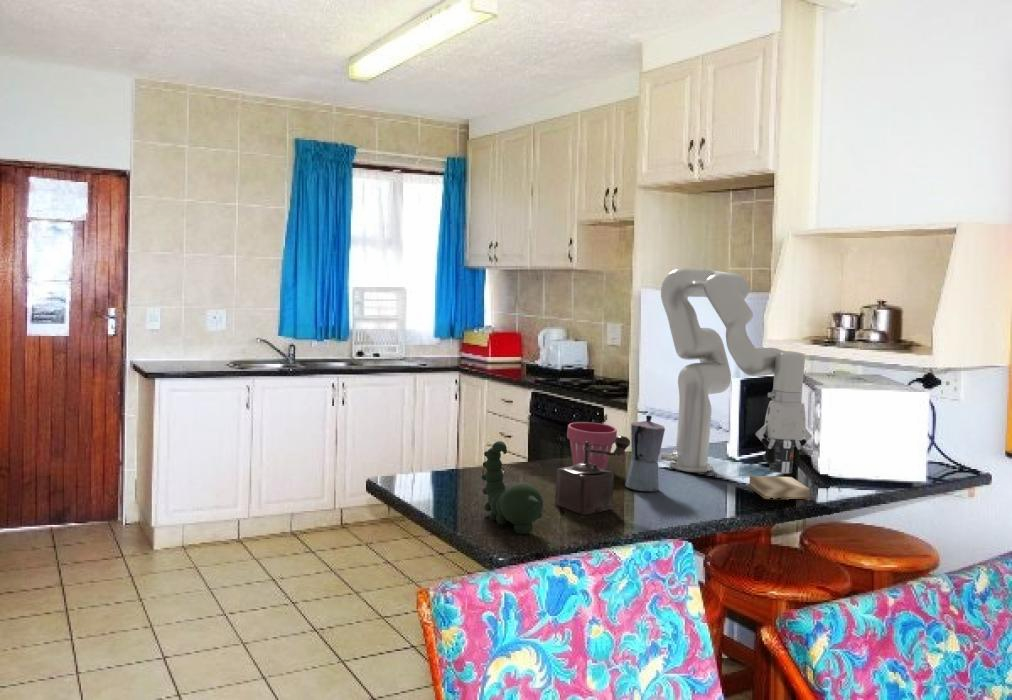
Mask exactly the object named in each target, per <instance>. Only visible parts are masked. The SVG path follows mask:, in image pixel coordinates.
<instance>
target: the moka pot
mask: <svg viewBox="0 0 1012 700" xmlns="http://www.w3.org/2000/svg"><path fill="white" fill-rule="evenodd" d="M652 417H653V415H650V414H649V415H646V420H644V421H634V422H631V424H630V431H631V433H630V435H631V436H630V437H631V438H630V439H631V440H630V445H631V447H630V448H631V460H630V463H629V467H628V472H627V475H626V479H625V482H624V483H625V484H624V485H625V487H626V488H627V489H631V490H634V491H638V492H639V491H640V492H657V491H659V488H660V487H659V464H658V462H659V455H660V453H661V450H662V444H663V440H664V436H665V430H666V428H665V426H664V425H662V424H658V423H655V422H652Z"/></svg>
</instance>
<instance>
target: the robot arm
mask: <svg viewBox="0 0 1012 700" xmlns="http://www.w3.org/2000/svg"><path fill="white" fill-rule="evenodd" d="M749 292H750V288H749V283H748V281H747V280H746V279H745V278H744V277H743V275H740V274H738V273H733V272H732V273H731V272H727V271H726V272H725V271H721V270H714V269H708V268H691V267H690V268H687V267H682V268H676V269H674V270H672V271H670V272H669V273H668V274H667V275H666V276H665V277H664V279H663V281H662V283H661V287H660V297H661V298H660V299H661V301H662V305H663V308H664V311H665V313H666V317H667V321H668V324H669V325H668V326H669V329H670V333H671V338H672V342H673V346H674V349H675V352H676V354H677V356H678V357H679V358H680V359H683V360H691V361H693V360H698V361H699V362H694V363H689V364H687V365H685V366H684V367H682V369H681V370H680V371H679V373H678V377H677V387H678V395H679V398H678V399H679V401H678V402H679V404H678V417H677V419H678V421H677V433H676V435H677V436H676V442H675V444H676V445H675V446H676V447H675V449H673V450H672V452H669V453H665V452H660V454H659V456H658V459H659V460H664V461H667V462H669V466H670V467H671V468H672V469H675V470H677V471H682V472H688V473H708V472H707V471H709V472H711V471H713V465H712V464H711V463H709V462H708V458H709V449H710V448H709V447H710V434H711V425H712V404H711V401H710V397H709V395H712V394H713V395H715V394H720V393H723V392H724V393H725V391H727V390H728V389H729V387H730V385H731V382H732V375H731V369H730V365H729V361H728V360H729V359H728V357H727V353H726V350H725V344H724V342H723V339H722V337H721V336H720V334H719V333H718V332H717V331H716V330H715V329H712V328H710V327H701V326H700V323H699V320H698V315H697V313H696V312H697V311H696V309H695V308H694V306H693V305H692V304H691V302H690V300H689V299H688V298H691V297H693V298H707V299H708V301H709V303H710V304H711V306H712V308H713V309H714V311H715V312H716V314H717V315H718V318H720V321H721V322H722V325H724V326H725V342H726V347H727V350H728V352H729V354H730V357H732V359H733V361H734V362H735V364H736V366H737V367H738V368H739V370H741V372H742V373H744V374H745V375H747V376H750V377H751V376H752V377H753V376H754V377H755V376H756V377H757V376H771V375H772V376H773V387H772V391H770V392H767V398H771V400H770V401H769V403H768V406H767V409H766V414H765V419H764V425H763V426H762V427H761V428H759V429H758V430H757V431H756V432H755V436H756V437H757V438H758V439H759V440H760V442H761V443H762V444H763V445H764V447H765V455H764V457H765V460H766V461H765V462H768V463H769V464H770V463H773V458H774V449H773V445H774V443H775V441H776V440H794V442H795V444H794V456H793V465H797V464H798V460H799V455H800V450H801V449H802V447H803V446H804V445H805V444H806V443H808V441H810V439H812V437H813V435H812V434H811V433H810V431H808V429H807V428H806V427H807V426H806V425H807V420H806V419H807V418H806V407H805V403H803V402H802V398H803V397H802V396H803V385H804V373H805V364H806V363H805V361H806V360H805V359H806V358H805V355H804V354H803V353H801V352H797V351H790V350H788V351H787V350H783V349H779V348H776V347H755V345H754V344H753V342H752V340H751V339H750V338H749V337H750V336H748V333H747V325H748V324H749V323H750V322H751V321H752V319H753V317H754V313H753V310H752V309H751V308H750V306H749V304H748V303H747V301H746V300H745V299H746V298H747V297H748V296H749ZM764 435H765V436H767V437H765V436H764ZM710 470H711V471H710Z"/></svg>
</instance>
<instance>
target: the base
mask: <svg viewBox="0 0 1012 700" xmlns="http://www.w3.org/2000/svg"><path fill="white" fill-rule="evenodd" d="M747 487H749V488H750V489H751V490H753V491H754V492H755V493H756V494H757V495H759V496H760V497H761V498H763V500H764V499H765V500H771V499H770V498H773V499H772V500H778V499H777V498H781V499H780V500H789V499H810V500H811V497H810V488H809V487H808V486H806V485H804V484H803V483H801V482H800V481H798V480H797V479H795V478H793V477H792V476H771V475H769V476H767V475H749V481H748V483H747Z"/></svg>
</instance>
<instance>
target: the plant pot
mask: <svg viewBox="0 0 1012 700" xmlns="http://www.w3.org/2000/svg"><path fill="white" fill-rule="evenodd" d="M566 432H567V433H566V437H567V439H568V440H569V443H570V451H571V452H570V453H571V458H572V466H574V465H576V464H578V463H581V462H584V458H585V450H584V447H585V445H584V443H585V442H586V441H587V442H589V443H590V444H589V448H590V449H592V450H593V449H594V450H602V451H607V452H612V449H613V445H614V444H615V442H614V441H615V438H616V437H617V436H618V430H617V428H616V427H615V426H613V425H610V424H605V423H600V422H589V421H576V422H571V423H569V424H567V431H566ZM609 458H610V455H605V454H600V453H591V452H589V451H588V461H589V463H594V465H597V467H598V468H601V469H604V470H606V468H607V465H608V461H609Z"/></svg>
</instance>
